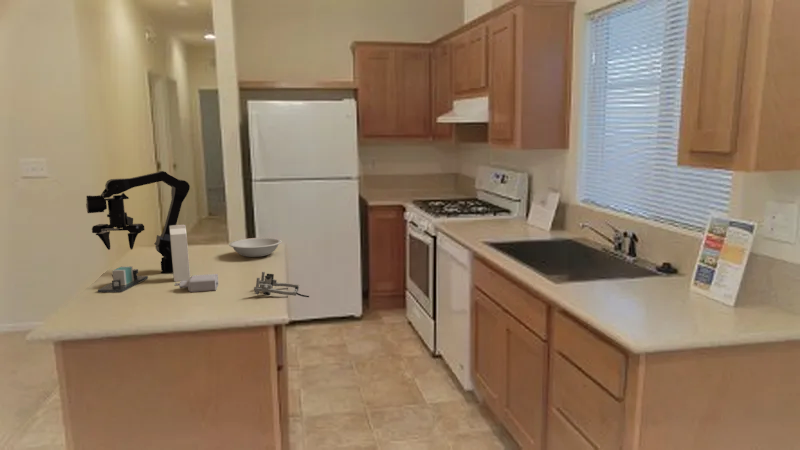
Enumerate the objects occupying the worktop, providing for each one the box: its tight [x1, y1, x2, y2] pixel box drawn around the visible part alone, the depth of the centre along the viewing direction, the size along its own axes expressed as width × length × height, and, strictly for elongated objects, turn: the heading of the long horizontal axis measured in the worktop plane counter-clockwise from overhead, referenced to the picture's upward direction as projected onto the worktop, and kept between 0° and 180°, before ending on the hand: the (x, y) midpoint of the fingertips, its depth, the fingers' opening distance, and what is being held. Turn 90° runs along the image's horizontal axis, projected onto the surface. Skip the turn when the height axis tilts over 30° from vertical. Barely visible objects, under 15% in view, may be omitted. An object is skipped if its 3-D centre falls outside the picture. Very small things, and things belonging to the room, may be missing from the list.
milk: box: [169, 224, 191, 283], centre depth 228 cm, size 6×6×22 cm
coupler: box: [111, 265, 134, 284], centre depth 222 cm, size 7×4×5 cm, turn 178°
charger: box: [174, 273, 219, 293], centre depth 215 cm, size 5×9×15 cm
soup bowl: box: [228, 237, 283, 258], centre depth 270 cm, size 24×24×7 cm
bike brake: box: [253, 271, 310, 298], centre depth 208 cm, size 14×7×20 cm
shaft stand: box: [97, 268, 149, 293], centre depth 223 cm, size 9×20×4 cm, turn 178°
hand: (120, 249), depth 231 cm, fingers open, 9 cm apart
